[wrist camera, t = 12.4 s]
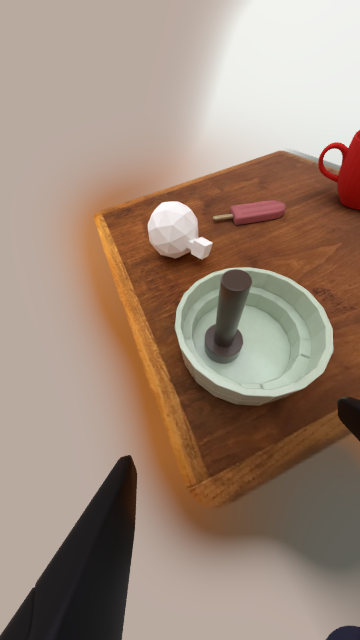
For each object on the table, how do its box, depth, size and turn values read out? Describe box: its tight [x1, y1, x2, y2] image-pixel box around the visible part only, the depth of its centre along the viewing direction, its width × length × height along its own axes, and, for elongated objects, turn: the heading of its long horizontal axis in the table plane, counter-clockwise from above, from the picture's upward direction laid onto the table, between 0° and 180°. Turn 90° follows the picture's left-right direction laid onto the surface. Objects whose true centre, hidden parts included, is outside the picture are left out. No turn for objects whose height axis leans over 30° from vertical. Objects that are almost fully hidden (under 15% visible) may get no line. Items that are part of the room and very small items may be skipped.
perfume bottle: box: [148, 202, 213, 260], centre depth 31 cm, size 9×9×12 cm
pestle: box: [204, 269, 252, 364], centre depth 18 cm, size 4×4×12 cm
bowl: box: [175, 267, 333, 406], centre depth 21 cm, size 15×15×6 cm
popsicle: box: [213, 201, 286, 225], centre depth 38 cm, size 5×2×15 cm
